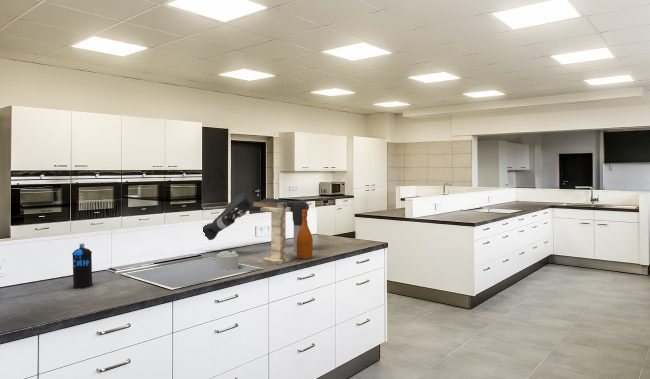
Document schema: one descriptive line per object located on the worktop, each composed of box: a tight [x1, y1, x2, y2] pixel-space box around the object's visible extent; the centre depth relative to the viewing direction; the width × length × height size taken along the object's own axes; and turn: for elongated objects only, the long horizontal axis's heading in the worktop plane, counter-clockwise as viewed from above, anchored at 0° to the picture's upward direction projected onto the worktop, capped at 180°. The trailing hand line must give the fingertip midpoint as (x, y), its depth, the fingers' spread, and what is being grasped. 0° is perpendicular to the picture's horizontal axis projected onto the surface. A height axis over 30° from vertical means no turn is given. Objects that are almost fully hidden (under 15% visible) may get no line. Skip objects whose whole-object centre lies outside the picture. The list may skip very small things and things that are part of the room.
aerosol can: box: [71, 242, 94, 289], centre depth 207 cm, size 8×8×20 cm
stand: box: [258, 207, 293, 266], centre depth 263 cm, size 16×13×32 cm
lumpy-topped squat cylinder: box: [215, 250, 240, 270], centre depth 248 cm, size 10×13×9 cm
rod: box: [252, 201, 287, 208], centre depth 264 cm, size 4×22×3 cm, turn 61°
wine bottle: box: [296, 209, 314, 260], centre depth 273 cm, size 10×10×30 cm
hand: (243, 209), depth 274 cm, fingers open, 8 cm apart
